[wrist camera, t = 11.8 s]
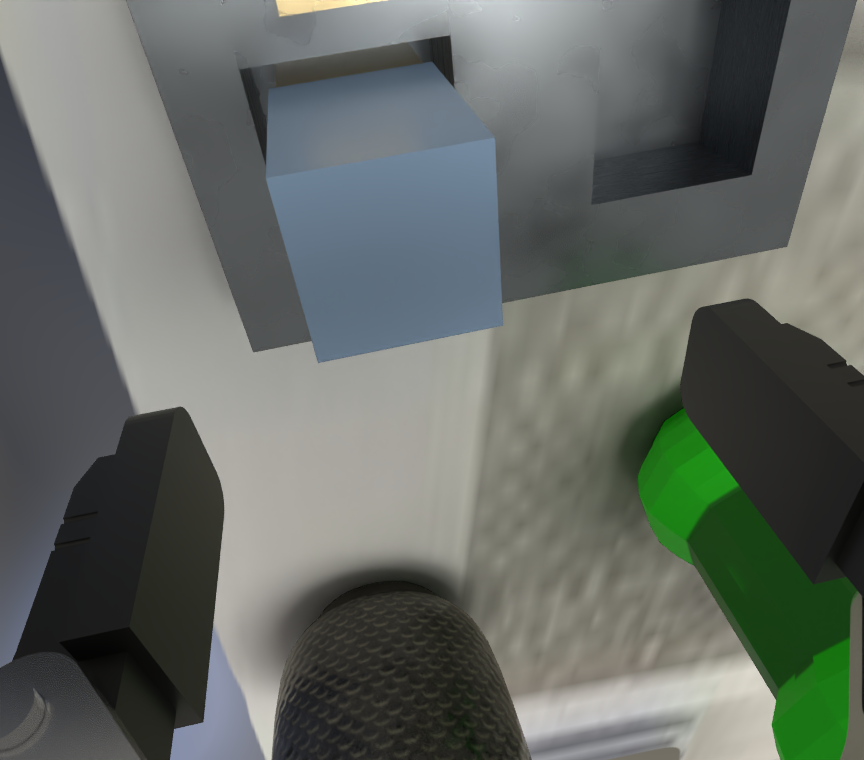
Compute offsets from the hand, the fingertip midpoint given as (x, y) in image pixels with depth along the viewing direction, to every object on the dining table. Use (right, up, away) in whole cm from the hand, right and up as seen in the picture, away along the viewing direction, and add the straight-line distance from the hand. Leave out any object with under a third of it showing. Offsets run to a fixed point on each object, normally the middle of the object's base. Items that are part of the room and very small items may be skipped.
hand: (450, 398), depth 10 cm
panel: (+2, +10, +12) cm, 16 cm away
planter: (-4, -15, +31) cm, 35 cm away
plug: (-3, +9, +11) cm, 15 cm away
